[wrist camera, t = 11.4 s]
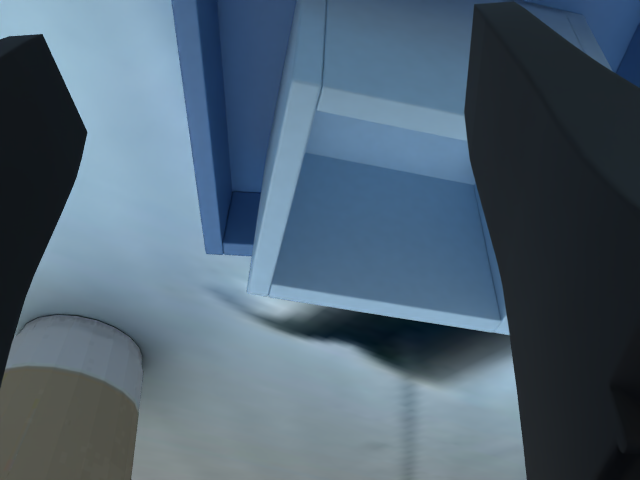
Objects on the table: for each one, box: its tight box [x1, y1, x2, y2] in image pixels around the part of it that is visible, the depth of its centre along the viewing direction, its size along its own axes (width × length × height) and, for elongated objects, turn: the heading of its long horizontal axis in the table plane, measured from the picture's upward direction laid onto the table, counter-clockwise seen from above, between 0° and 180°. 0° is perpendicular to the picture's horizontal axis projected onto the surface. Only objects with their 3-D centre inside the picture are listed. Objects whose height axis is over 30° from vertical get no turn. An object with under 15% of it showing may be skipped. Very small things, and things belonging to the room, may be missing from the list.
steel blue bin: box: [171, 0, 640, 256], centre depth 20 cm, size 15×13×4 cm
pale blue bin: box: [247, 0, 612, 335], centre depth 19 cm, size 9×8×7 cm
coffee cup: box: [0, 315, 143, 480], centre depth 31 cm, size 11×11×15 cm
